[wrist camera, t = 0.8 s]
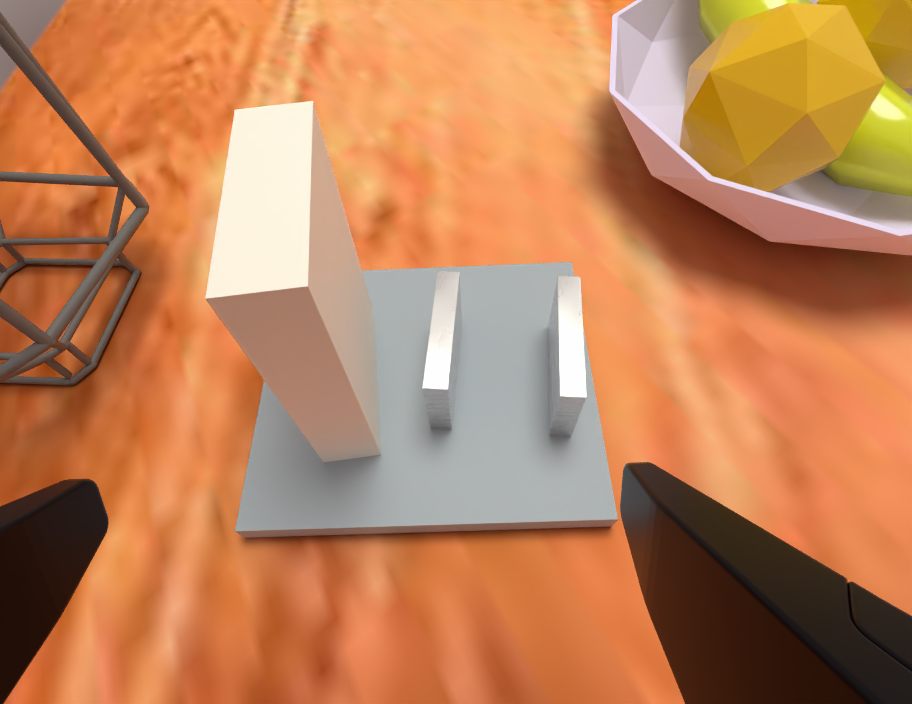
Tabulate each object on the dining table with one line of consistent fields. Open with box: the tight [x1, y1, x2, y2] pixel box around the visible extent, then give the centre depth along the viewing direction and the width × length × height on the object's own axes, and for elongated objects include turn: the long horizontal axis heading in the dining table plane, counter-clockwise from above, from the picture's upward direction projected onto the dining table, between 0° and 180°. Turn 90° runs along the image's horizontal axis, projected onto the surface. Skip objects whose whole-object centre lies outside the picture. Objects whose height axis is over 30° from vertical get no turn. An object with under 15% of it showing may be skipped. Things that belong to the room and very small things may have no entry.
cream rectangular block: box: [205, 101, 381, 462], centre depth 21 cm, size 8×4×12 cm, turn 7°
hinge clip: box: [423, 271, 586, 437], centre depth 24 cm, size 6×6×4 cm
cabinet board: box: [235, 262, 618, 538], centre depth 26 cm, size 14×16×1 cm
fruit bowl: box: [609, 0, 912, 256], centre depth 31 cm, size 28×27×11 cm
